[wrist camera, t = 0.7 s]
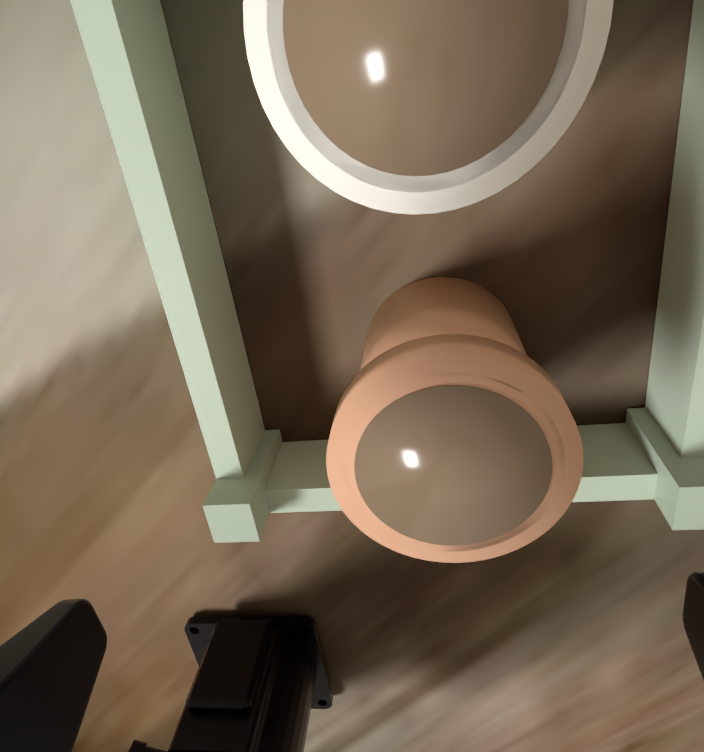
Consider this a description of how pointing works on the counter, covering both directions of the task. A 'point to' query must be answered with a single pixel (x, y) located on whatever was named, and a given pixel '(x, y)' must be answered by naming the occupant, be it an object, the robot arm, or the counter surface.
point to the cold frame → (224, 339)
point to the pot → (422, 90)
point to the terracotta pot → (451, 430)
